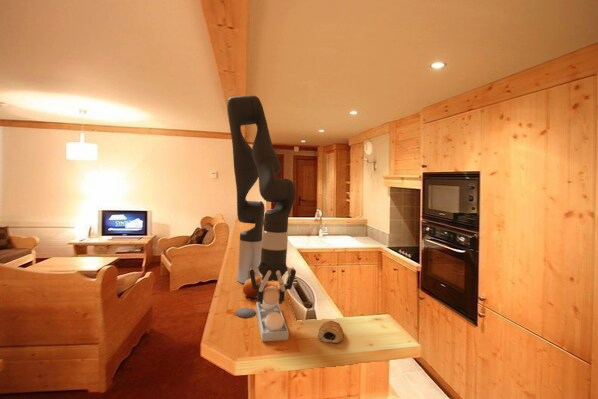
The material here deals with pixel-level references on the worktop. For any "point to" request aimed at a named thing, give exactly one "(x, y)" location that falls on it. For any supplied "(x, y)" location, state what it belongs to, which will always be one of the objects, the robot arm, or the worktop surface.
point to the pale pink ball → (271, 295)
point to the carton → (264, 332)
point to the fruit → (249, 290)
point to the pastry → (331, 332)
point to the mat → (245, 312)
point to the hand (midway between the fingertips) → (270, 302)
